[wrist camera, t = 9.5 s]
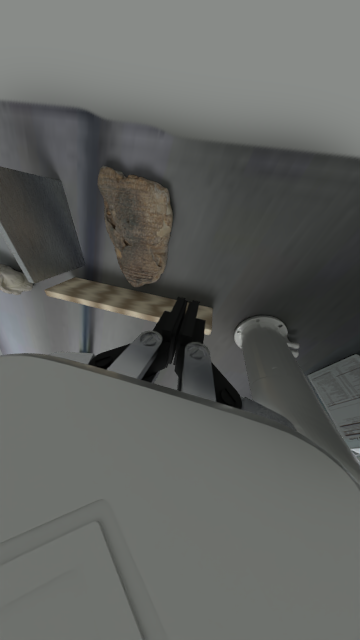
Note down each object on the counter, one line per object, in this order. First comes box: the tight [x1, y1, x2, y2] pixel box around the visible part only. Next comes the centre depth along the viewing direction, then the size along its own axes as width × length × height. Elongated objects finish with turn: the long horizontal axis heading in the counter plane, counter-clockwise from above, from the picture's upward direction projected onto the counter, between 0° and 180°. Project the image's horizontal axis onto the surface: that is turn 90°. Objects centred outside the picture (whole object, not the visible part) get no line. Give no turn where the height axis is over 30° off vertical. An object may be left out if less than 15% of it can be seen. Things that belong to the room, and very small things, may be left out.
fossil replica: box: [0, 264, 33, 295], centre depth 41 cm, size 12×8×10 cm
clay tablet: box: [98, 166, 173, 287], centre depth 28 cm, size 14×5×20 cm
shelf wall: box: [45, 277, 213, 335], centre depth 35 cm, size 40×2×9 cm, turn 83°
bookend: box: [0, 167, 85, 283], centre depth 27 cm, size 7×16×13 cm, turn 173°
